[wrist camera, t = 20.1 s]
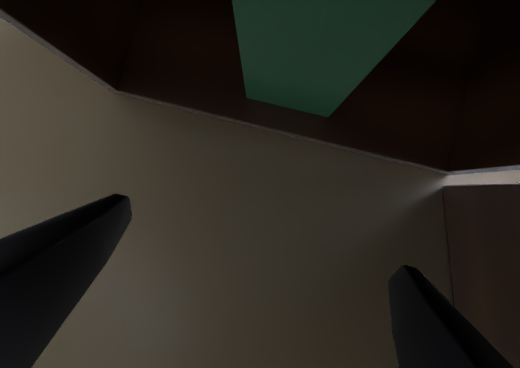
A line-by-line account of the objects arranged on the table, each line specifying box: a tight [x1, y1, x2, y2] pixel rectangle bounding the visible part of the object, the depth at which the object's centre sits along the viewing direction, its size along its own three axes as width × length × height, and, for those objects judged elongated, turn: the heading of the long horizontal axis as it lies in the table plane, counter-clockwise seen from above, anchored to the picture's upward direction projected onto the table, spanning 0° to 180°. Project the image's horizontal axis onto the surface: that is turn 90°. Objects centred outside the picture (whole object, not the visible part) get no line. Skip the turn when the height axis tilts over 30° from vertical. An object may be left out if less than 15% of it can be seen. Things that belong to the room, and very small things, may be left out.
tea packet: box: [232, 0, 437, 117], centre depth 11 cm, size 4×6×14 cm, turn 77°
